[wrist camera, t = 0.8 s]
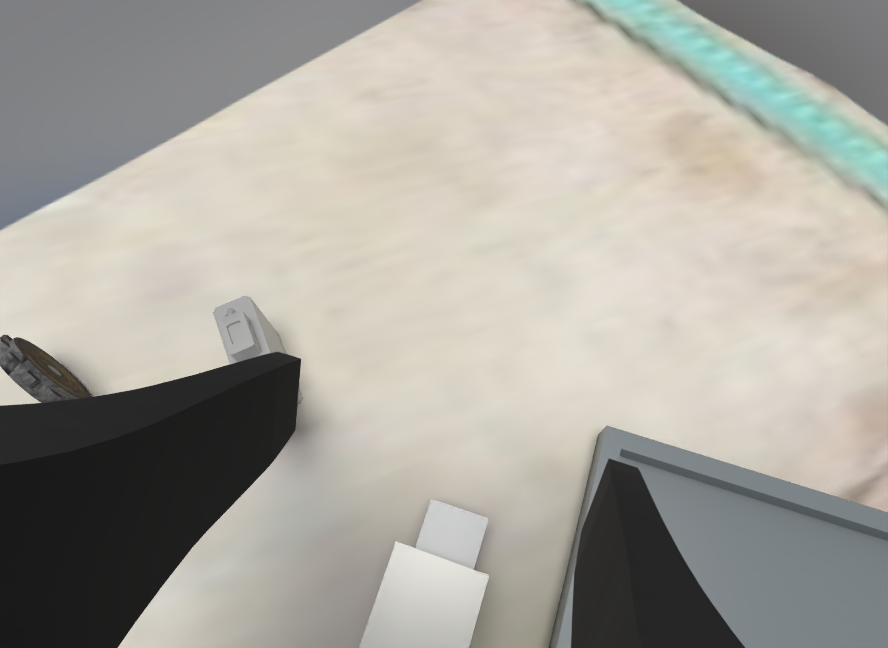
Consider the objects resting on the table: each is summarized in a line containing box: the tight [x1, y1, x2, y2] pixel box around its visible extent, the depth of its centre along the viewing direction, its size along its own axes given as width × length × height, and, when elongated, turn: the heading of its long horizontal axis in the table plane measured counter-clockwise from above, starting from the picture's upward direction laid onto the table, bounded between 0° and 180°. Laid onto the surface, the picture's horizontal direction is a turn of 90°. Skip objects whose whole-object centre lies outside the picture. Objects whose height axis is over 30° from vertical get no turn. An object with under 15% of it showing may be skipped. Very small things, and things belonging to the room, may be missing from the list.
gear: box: [0, 335, 90, 403], centre depth 26 cm, size 5×1×5 cm, turn 48°
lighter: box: [213, 296, 303, 404], centre depth 24 cm, size 7×2×8 cm, turn 25°
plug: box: [359, 499, 489, 648], centre depth 21 cm, size 9×4×5 cm, turn 161°
